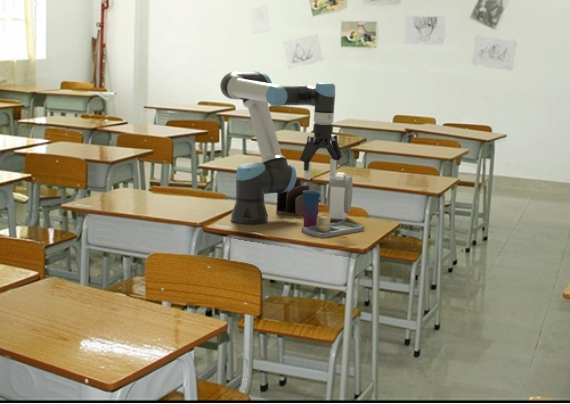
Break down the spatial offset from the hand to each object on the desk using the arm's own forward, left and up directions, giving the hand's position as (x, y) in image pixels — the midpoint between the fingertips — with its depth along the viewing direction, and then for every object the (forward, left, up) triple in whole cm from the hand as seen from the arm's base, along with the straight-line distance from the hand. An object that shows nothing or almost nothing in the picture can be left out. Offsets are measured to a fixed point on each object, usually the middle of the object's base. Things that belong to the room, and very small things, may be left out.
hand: (320, 177), depth 312 cm
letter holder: (-33, +18, -22) cm, 44 cm away
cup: (-4, -1, -21) cm, 22 cm away
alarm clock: (-9, +20, -21) cm, 31 cm away
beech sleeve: (+7, -4, -20) cm, 22 cm away
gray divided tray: (+7, +1, -21) cm, 22 cm away
